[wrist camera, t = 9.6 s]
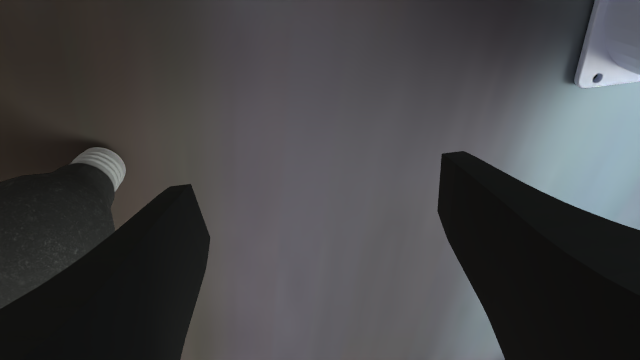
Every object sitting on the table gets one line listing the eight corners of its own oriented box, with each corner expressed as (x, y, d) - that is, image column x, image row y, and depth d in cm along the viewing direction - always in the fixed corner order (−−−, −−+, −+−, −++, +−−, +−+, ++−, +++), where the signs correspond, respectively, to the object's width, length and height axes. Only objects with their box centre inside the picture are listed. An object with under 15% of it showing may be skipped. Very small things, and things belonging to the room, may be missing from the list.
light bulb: (73, 198, 23) (-57, 349, 15) (40, 112, 20) (-148, 240, 11) (167, 199, 23) (94, 346, 15) (149, 114, 20) (43, 240, 12)
